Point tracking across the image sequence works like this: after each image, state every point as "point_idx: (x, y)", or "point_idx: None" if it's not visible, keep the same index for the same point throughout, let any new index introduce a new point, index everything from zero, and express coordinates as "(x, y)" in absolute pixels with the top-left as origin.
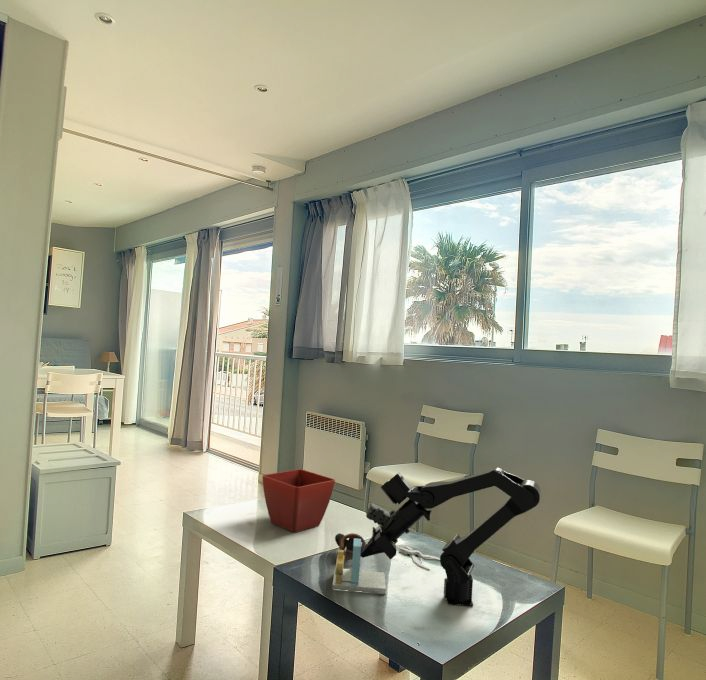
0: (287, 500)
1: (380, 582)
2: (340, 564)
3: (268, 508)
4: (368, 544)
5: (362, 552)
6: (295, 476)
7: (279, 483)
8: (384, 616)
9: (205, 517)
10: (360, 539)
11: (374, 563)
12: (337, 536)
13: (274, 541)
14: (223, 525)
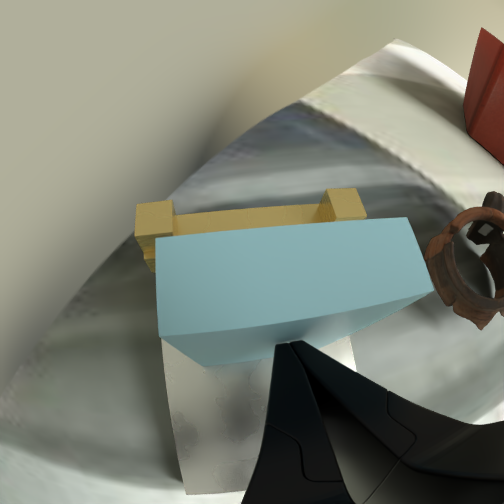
0: (485, 68)
1: (248, 469)
2: (136, 227)
3: (468, 79)
4: (310, 427)
5: (273, 361)
6: None
7: (489, 37)
8: (29, 455)
9: (404, 47)
10: (416, 288)
11: (461, 370)
12: (491, 195)
13: (411, 101)
14: (401, 56)
